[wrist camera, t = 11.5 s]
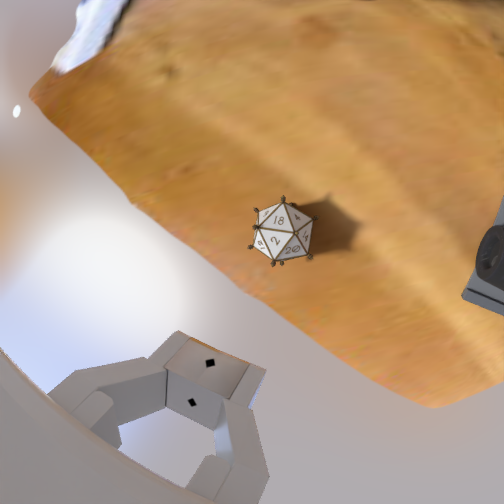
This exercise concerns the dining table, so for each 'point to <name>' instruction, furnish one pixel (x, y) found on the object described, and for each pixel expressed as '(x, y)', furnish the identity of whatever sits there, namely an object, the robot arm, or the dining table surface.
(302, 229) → the game die
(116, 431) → the robot arm
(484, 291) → the tray
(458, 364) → the dining table surface
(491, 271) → the travel mug
